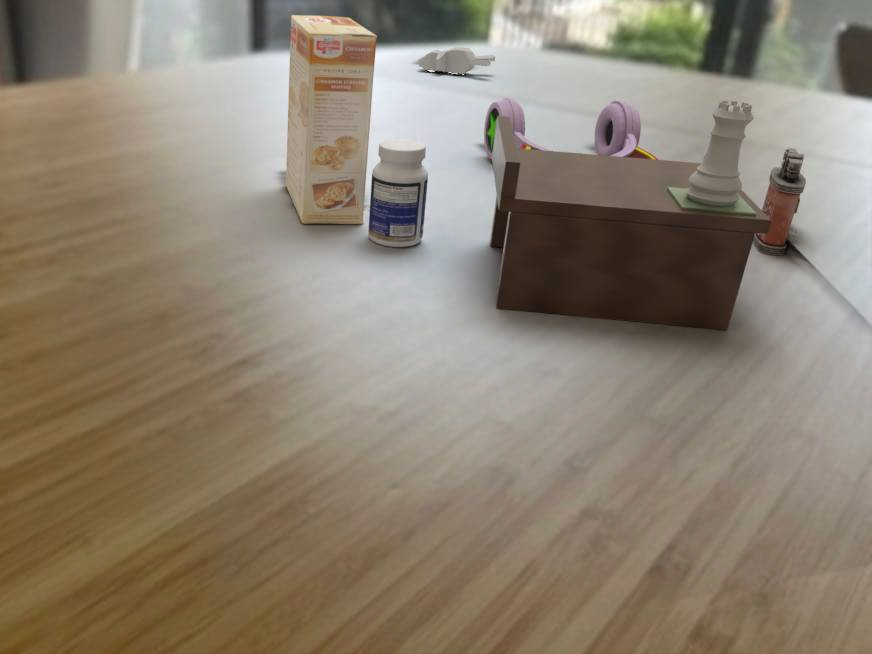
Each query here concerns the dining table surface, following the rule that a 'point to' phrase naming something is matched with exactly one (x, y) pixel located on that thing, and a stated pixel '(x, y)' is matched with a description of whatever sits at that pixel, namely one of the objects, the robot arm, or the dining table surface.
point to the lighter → (781, 203)
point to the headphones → (612, 129)
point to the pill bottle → (398, 194)
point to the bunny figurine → (454, 60)
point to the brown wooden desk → (615, 238)
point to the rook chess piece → (721, 157)
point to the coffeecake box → (329, 117)
